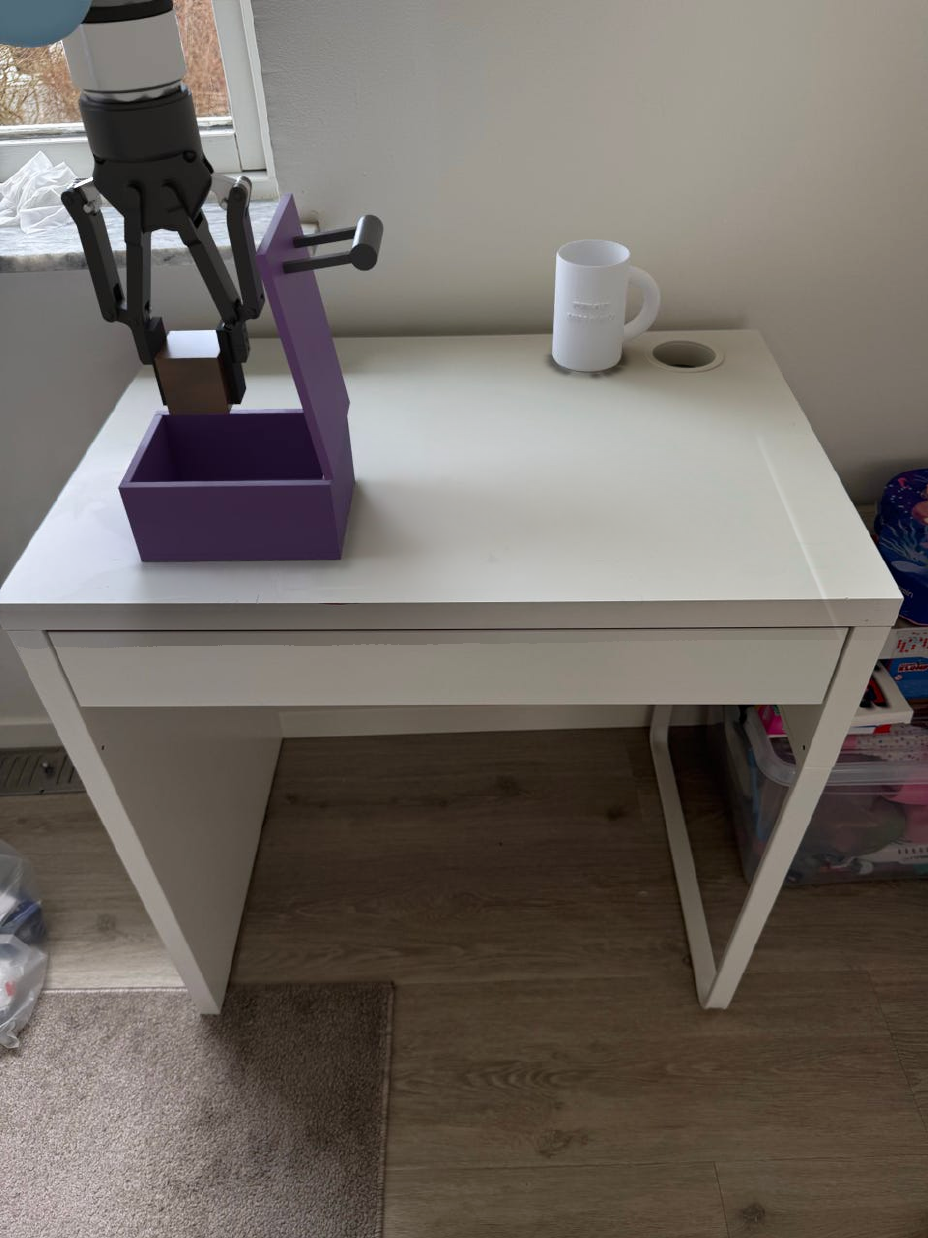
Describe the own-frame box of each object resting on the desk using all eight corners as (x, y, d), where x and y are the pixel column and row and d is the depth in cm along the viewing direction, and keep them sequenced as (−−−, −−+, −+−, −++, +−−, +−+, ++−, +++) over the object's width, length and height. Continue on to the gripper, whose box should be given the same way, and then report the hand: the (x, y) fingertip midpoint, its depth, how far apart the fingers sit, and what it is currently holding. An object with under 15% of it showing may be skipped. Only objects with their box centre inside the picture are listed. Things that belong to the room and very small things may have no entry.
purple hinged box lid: (254, 255, 65) (364, 237, 64) (282, 194, 74) (379, 177, 73) (325, 480, 77) (418, 468, 76) (341, 403, 86) (425, 391, 86)
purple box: (141, 561, 83) (117, 487, 78) (175, 481, 92) (156, 410, 87) (340, 559, 83) (330, 484, 77) (355, 479, 92) (346, 407, 87)
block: (169, 415, 78) (154, 358, 74) (183, 385, 81) (169, 330, 78) (229, 414, 77) (217, 357, 74) (241, 384, 81) (229, 329, 78)
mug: (661, 369, 107) (675, 264, 99) (557, 374, 107) (562, 269, 99) (647, 337, 113) (658, 235, 105) (548, 342, 113) (552, 240, 105)
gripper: (274, 69, 66) (318, 373, 82) (20, 76, 67) (112, 377, 82) (255, 97, 61) (306, 417, 76) (-22, 104, 61) (85, 421, 77)
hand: (205, 396), depth 79 cm, fingers closed on block, 5 cm apart
